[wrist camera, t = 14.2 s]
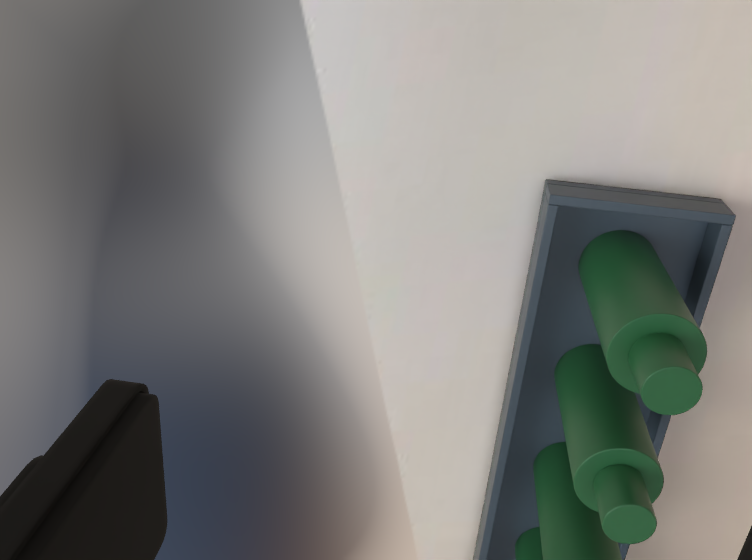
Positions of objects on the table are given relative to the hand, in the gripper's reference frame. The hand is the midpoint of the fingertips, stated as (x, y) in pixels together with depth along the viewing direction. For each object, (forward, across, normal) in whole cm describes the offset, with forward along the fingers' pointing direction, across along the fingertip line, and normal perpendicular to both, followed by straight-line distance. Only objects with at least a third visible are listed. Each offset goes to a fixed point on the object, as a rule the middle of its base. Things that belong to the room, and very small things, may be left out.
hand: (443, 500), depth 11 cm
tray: (+33, -10, +22) cm, 41 cm away
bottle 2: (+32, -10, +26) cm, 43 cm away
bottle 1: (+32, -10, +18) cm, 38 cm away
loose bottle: (+32, -10, +10) cm, 35 cm away
